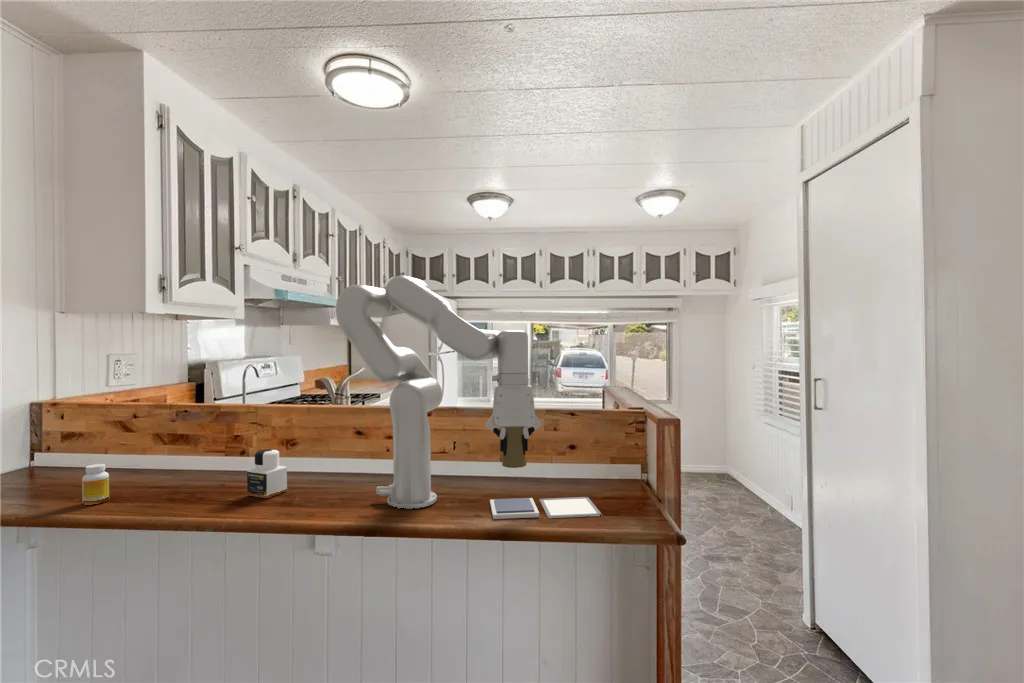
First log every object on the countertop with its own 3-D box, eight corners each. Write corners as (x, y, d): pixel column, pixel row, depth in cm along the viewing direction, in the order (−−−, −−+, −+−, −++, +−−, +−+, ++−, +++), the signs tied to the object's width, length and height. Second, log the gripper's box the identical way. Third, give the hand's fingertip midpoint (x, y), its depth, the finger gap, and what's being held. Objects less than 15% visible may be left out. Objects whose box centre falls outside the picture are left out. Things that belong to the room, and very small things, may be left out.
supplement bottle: (111, 502, 132) (110, 465, 132) (84, 507, 128) (83, 469, 128) (107, 497, 136) (106, 461, 136) (81, 502, 132) (80, 465, 132)
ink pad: (493, 519, 119) (493, 513, 119) (490, 503, 130) (490, 498, 130) (539, 517, 121) (539, 511, 121) (532, 501, 131) (532, 496, 131)
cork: (524, 468, 122) (523, 422, 122) (499, 467, 123) (499, 422, 123) (528, 462, 128) (527, 418, 127) (504, 461, 129) (504, 417, 129)
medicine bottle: (246, 496, 137) (246, 452, 137) (268, 489, 143) (268, 446, 143) (266, 499, 134) (265, 454, 134) (287, 491, 141) (287, 448, 141)
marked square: (548, 518, 120) (548, 516, 120) (539, 500, 133) (539, 498, 133) (601, 515, 121) (601, 514, 121) (587, 498, 134) (587, 496, 134)
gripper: (479, 382, 120) (480, 459, 121) (549, 380, 122) (550, 456, 122) (478, 379, 128) (479, 451, 128) (544, 378, 130) (544, 449, 130)
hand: (513, 453), depth 125 cm, fingers closed on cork, 4 cm apart
